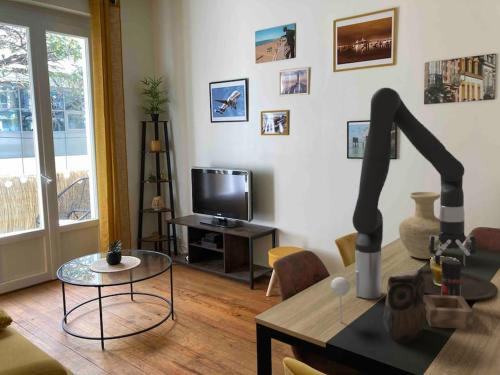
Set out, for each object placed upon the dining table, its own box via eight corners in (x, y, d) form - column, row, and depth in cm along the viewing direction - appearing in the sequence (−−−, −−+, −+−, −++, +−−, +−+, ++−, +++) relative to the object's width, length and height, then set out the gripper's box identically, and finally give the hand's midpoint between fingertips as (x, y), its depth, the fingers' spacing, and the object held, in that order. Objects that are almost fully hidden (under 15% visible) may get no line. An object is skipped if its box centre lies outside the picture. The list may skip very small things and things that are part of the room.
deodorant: (462, 308, 140) (463, 265, 138) (443, 307, 141) (444, 264, 139) (457, 301, 146) (458, 259, 144) (439, 300, 147) (439, 259, 145)
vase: (406, 247, 211) (406, 189, 207) (454, 253, 198) (456, 191, 194) (392, 259, 193) (392, 196, 189) (445, 267, 180) (446, 199, 176)
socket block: (430, 326, 128) (430, 309, 127) (422, 310, 140) (423, 294, 139) (472, 329, 125) (473, 311, 125) (461, 311, 137) (462, 296, 136)
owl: (426, 327, 128) (426, 264, 125) (427, 347, 116) (428, 279, 114) (383, 322, 133) (383, 262, 130) (380, 341, 121) (380, 275, 118)
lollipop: (346, 328, 130) (345, 282, 128) (328, 324, 133) (327, 279, 131) (352, 319, 135) (352, 275, 133) (335, 316, 138) (334, 273, 136)
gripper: (431, 221, 137) (431, 268, 139) (478, 220, 134) (478, 269, 136) (427, 216, 144) (427, 261, 147) (471, 216, 141) (471, 262, 143)
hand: (451, 265), depth 141 cm, fingers open, 8 cm apart
